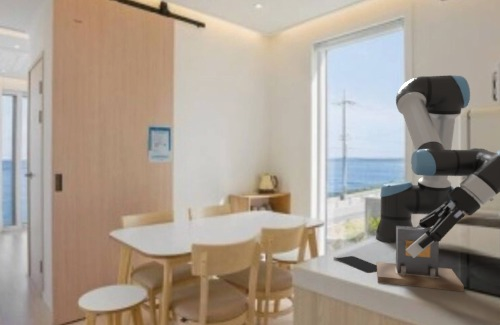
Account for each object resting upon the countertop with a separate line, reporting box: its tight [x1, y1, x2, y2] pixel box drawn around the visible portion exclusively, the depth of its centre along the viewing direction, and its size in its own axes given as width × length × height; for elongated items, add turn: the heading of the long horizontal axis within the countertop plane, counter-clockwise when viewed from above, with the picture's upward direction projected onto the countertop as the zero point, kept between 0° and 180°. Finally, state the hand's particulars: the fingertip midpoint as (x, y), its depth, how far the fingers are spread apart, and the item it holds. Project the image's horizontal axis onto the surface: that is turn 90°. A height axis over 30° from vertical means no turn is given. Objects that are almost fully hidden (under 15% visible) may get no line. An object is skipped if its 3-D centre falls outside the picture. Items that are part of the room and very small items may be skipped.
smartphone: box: [335, 255, 377, 274], centre depth 110 cm, size 7×1×15 cm
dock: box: [376, 261, 465, 292], centre depth 97 cm, size 20×14×4 cm
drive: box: [395, 226, 440, 277], centre depth 97 cm, size 10×5×12 cm, turn 72°
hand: (406, 247), depth 98 cm, fingers open, 13 cm apart
